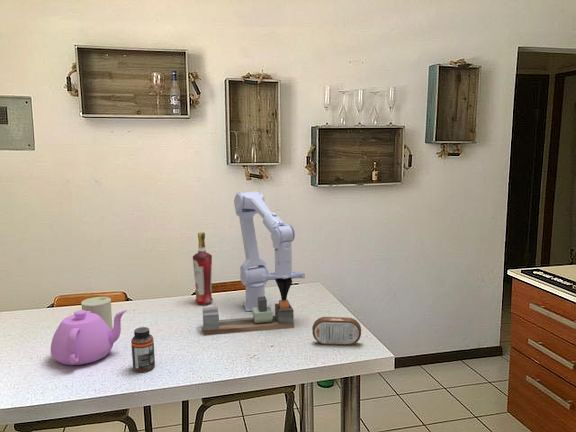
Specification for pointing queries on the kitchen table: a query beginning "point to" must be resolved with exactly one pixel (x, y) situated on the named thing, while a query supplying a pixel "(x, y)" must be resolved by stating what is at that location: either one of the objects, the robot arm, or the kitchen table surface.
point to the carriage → (262, 311)
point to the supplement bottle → (142, 350)
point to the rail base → (245, 322)
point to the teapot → (84, 338)
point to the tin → (336, 331)
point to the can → (99, 308)
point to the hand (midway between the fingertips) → (283, 299)
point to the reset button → (283, 304)
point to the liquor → (202, 272)
